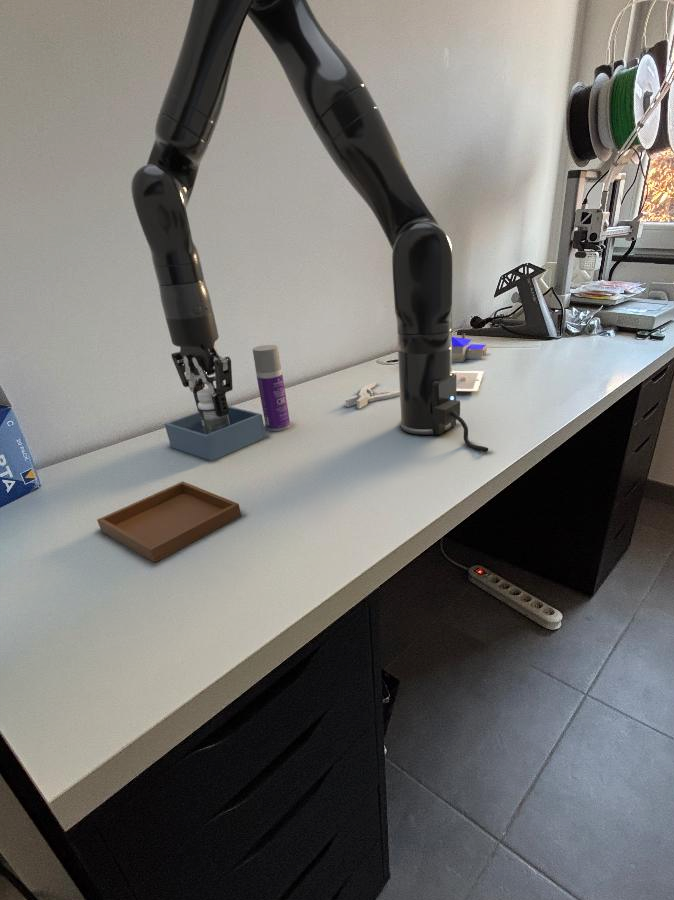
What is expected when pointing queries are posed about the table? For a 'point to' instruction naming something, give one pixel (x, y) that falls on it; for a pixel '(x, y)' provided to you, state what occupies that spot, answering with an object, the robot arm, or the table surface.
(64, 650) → the table surface
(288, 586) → the table surface
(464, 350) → the house
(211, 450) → the storage box
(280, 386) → the container
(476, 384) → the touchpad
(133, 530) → the tray
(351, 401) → the pliers
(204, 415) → the pill bottle
